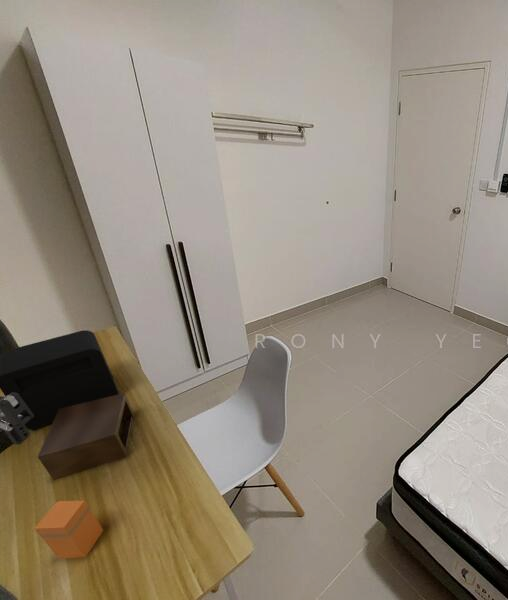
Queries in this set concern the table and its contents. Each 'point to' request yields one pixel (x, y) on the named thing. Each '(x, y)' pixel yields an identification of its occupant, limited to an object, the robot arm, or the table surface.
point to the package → (70, 529)
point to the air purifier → (56, 375)
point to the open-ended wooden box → (87, 436)
